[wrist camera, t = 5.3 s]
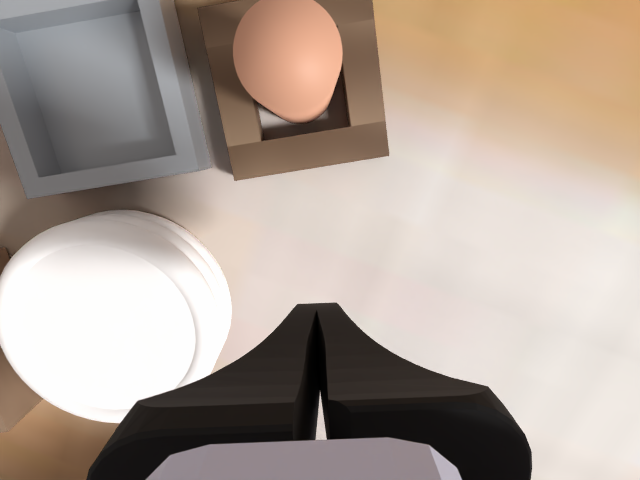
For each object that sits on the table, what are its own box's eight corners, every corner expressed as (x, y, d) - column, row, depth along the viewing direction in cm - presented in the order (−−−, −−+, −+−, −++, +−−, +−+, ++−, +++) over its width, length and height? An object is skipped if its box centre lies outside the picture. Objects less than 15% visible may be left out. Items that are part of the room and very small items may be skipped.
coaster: (136, 413, 22) (103, 464, 18) (2, 284, 20) (-65, 314, 16) (272, 317, 20) (263, 352, 17) (141, 166, 18) (101, 172, 15)
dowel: (336, 118, 17) (349, 102, 11) (273, 128, 17) (245, 120, 11) (326, 48, 17) (334, -17, 10) (260, 59, 17) (221, 3, 10)
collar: (384, 154, 18) (389, 155, 17) (239, 178, 18) (234, 180, 17) (365, -11, 16) (369, -23, 15) (205, 17, 16) (197, 7, 15)
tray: (212, 167, 18) (199, 170, 16) (58, 192, 18) (27, 198, 16) (171, -12, 16) (151, -33, 14) (-1, 19, 16) (-44, 2, 14)
